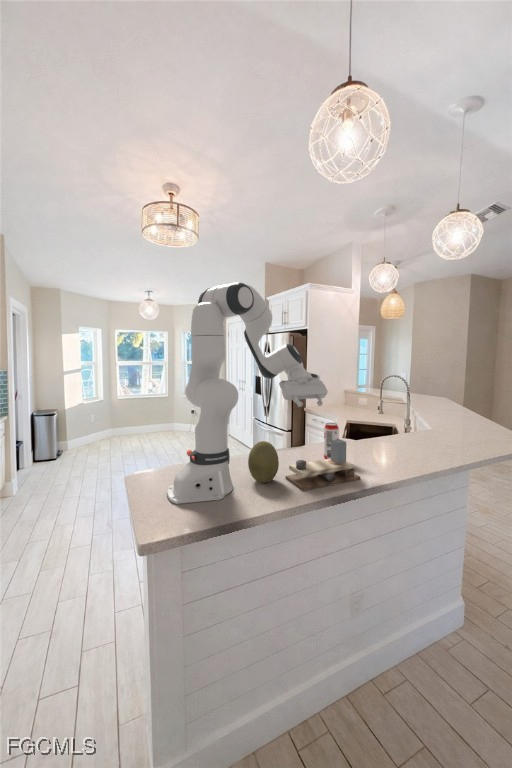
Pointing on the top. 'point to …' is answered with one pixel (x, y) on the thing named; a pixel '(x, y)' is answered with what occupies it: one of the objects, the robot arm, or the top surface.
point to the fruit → (263, 462)
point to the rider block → (338, 451)
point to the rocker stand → (322, 479)
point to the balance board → (318, 467)
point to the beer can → (330, 438)
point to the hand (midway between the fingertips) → (310, 405)
